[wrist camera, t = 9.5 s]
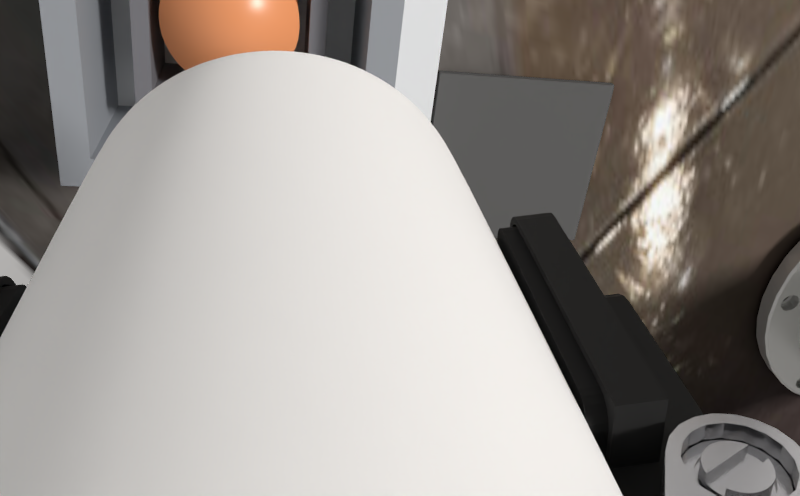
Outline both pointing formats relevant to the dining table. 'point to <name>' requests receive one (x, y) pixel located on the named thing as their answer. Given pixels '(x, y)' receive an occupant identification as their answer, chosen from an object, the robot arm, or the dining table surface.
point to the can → (282, 310)
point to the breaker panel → (153, 64)
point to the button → (227, 28)
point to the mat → (523, 142)
